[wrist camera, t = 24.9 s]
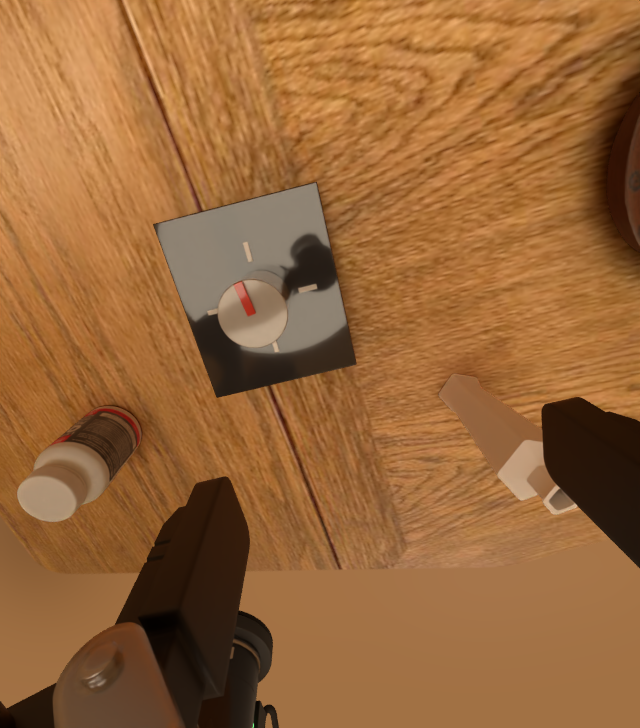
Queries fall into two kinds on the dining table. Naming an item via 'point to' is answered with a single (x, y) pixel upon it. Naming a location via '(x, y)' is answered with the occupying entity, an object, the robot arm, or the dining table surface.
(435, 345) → the dining table surface
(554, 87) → the dining table surface
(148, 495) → the dining table surface
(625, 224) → the dish
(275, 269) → the black dial box
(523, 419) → the perfume bottle
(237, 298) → the stove knob
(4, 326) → the dining table surface
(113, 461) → the pill bottle
